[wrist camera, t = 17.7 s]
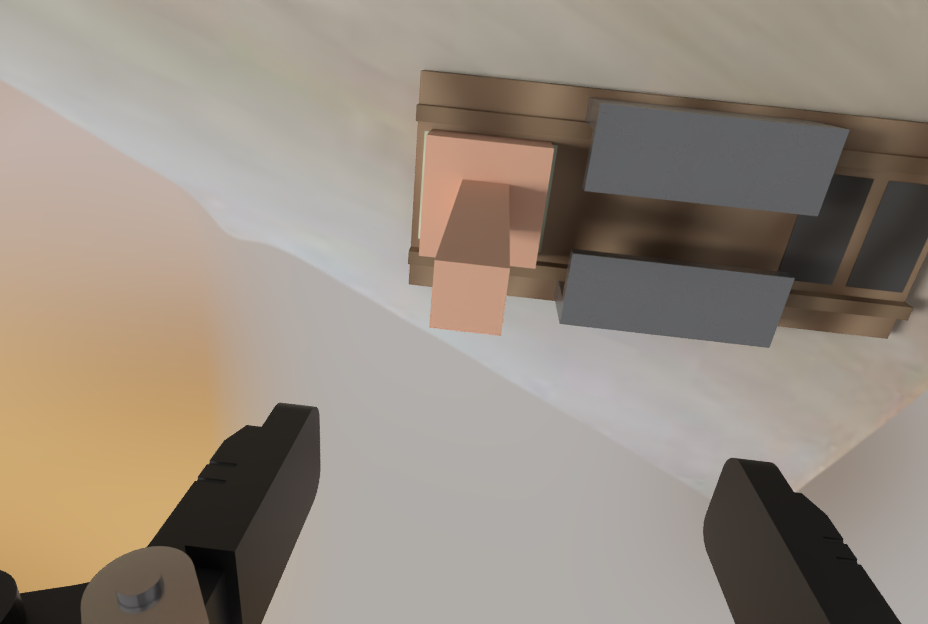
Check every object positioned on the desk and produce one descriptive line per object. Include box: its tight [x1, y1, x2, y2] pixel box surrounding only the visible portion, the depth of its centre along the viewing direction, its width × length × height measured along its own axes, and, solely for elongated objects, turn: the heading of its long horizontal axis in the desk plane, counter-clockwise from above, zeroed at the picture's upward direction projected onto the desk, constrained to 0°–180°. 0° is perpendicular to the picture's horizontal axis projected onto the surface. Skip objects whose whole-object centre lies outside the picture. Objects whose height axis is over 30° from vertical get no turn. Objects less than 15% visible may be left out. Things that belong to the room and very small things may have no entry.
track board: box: [408, 70, 928, 339], centre depth 40 cm, size 36×15×2 cm, turn 85°
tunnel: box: [554, 97, 849, 348], centre depth 37 cm, size 14×14×5 cm
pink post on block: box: [419, 129, 554, 336], centre depth 31 cm, size 8×8×18 cm
